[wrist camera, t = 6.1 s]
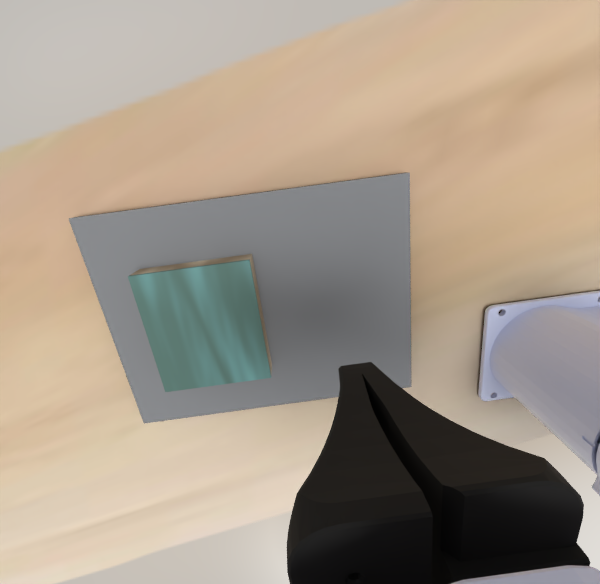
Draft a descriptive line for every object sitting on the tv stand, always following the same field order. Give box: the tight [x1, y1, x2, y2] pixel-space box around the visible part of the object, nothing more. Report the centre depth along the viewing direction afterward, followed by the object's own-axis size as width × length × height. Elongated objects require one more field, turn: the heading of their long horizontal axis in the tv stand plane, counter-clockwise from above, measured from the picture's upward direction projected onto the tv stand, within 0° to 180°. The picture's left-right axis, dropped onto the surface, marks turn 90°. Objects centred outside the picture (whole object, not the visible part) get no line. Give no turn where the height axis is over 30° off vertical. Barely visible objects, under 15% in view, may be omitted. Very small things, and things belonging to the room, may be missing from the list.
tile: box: [128, 254, 272, 392], centre depth 20 cm, size 2×8×7 cm
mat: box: [69, 173, 411, 423], centre depth 21 cm, size 20×15×1 cm
